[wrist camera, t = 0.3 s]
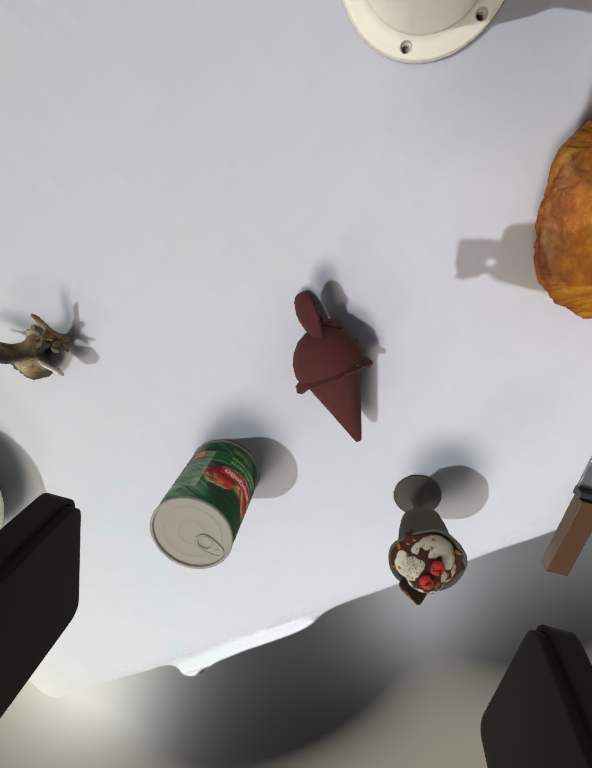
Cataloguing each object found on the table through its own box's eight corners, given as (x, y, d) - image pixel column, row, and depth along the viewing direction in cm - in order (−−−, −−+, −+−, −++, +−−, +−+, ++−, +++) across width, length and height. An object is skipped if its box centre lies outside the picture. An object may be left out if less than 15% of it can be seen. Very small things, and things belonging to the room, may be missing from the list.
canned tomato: (179, 474, 53) (134, 536, 43) (213, 426, 50) (174, 482, 40) (235, 512, 54) (204, 582, 44) (273, 467, 51) (248, 532, 41)
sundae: (432, 458, 48) (457, 561, 34) (459, 507, 50) (493, 625, 36) (374, 481, 50) (375, 587, 36) (402, 528, 52) (413, 647, 38)
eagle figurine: (38, 288, 46) (-38, 324, 47) (28, 334, 42) (-56, 374, 43) (88, 337, 52) (20, 369, 53) (84, 383, 47) (9, 417, 48)
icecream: (405, 437, 41) (346, 274, 38) (327, 469, 41) (261, 308, 38) (386, 417, 47) (334, 277, 44) (319, 443, 48) (263, 306, 45)
